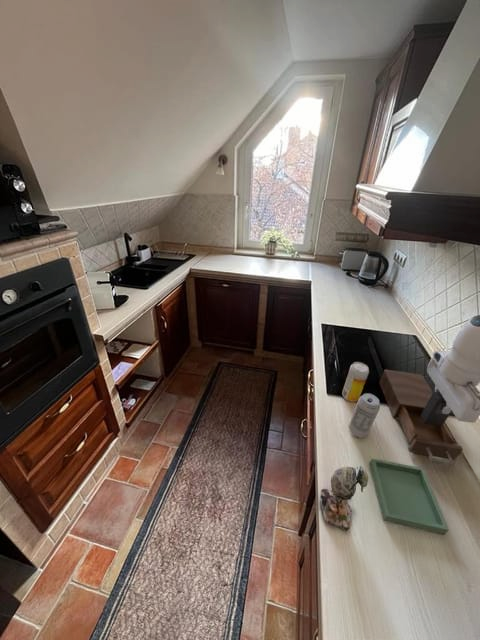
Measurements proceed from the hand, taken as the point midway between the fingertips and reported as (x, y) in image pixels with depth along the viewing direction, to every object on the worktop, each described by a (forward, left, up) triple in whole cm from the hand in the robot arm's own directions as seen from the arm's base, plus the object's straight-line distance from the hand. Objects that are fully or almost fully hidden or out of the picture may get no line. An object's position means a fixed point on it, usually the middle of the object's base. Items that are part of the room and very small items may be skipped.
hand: (440, 405), depth 76 cm
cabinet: (0, -15, -15) cm, 20 cm away
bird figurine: (+30, +26, -15) cm, 43 cm away
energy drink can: (+20, +2, -15) cm, 25 cm away
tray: (+12, +20, -15) cm, 28 cm away
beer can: (+20, -13, -15) cm, 28 cm away
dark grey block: (0, 0, -7) cm, 7 cm away
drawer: (0, +1, -14) cm, 14 cm away
